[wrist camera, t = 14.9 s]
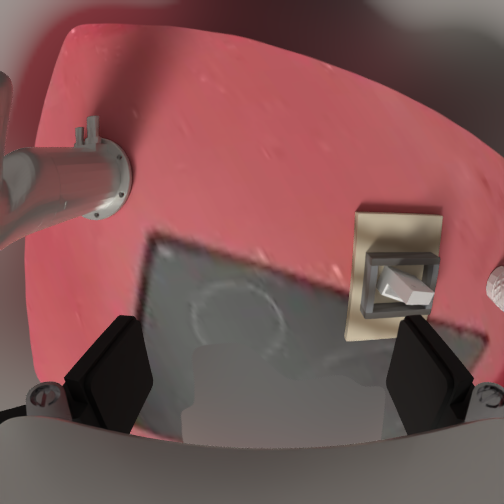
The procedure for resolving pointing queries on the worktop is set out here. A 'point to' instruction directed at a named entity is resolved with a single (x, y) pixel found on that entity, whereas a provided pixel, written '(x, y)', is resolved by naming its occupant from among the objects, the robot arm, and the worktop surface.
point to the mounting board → (395, 255)
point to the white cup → (496, 287)
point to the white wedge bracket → (403, 287)
